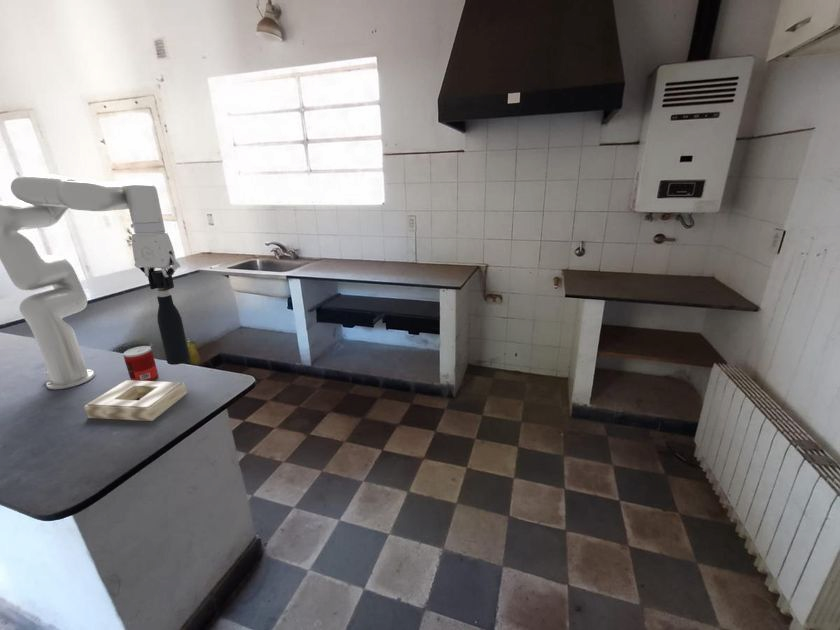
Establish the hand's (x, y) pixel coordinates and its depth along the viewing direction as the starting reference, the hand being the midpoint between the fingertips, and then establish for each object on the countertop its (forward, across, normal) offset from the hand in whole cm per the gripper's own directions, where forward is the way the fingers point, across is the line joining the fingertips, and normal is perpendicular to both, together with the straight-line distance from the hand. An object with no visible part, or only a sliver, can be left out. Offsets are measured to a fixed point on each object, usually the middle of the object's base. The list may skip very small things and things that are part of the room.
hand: (162, 287), depth 118 cm
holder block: (+34, -5, -12) cm, 37 cm away
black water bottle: (+25, 0, 0) cm, 25 cm away
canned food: (+35, -16, +3) cm, 39 cm away
